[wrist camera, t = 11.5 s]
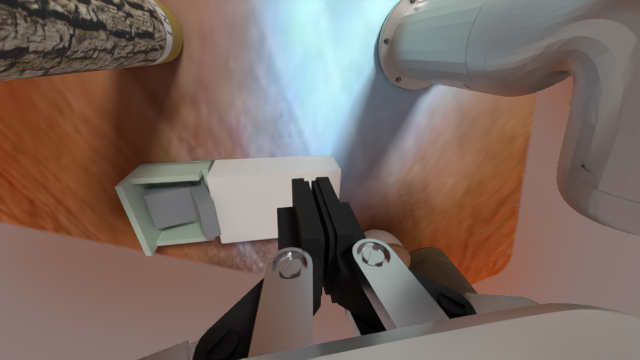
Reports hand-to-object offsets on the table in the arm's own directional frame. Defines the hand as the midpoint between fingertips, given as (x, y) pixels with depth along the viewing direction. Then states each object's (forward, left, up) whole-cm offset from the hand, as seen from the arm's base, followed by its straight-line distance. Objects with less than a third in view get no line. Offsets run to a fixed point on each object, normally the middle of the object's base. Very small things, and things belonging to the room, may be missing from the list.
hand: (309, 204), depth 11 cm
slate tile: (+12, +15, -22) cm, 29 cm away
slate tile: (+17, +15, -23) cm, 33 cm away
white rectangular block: (+2, +15, -27) cm, 31 cm away
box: (+16, +15, -27) cm, 35 cm away
